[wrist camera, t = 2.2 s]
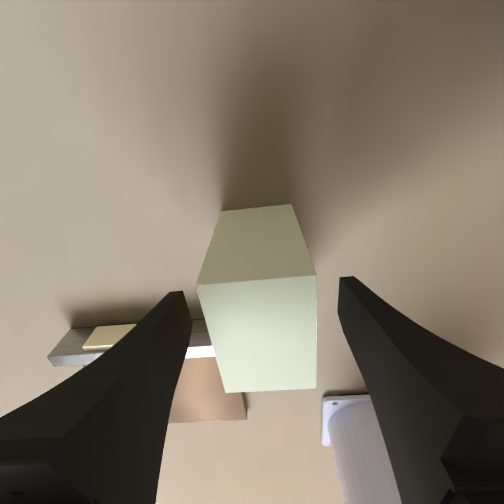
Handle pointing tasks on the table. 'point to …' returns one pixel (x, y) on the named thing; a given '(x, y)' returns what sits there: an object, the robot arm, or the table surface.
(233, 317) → the product carton
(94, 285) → the table surface
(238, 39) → the table surface
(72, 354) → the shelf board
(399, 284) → the table surface
